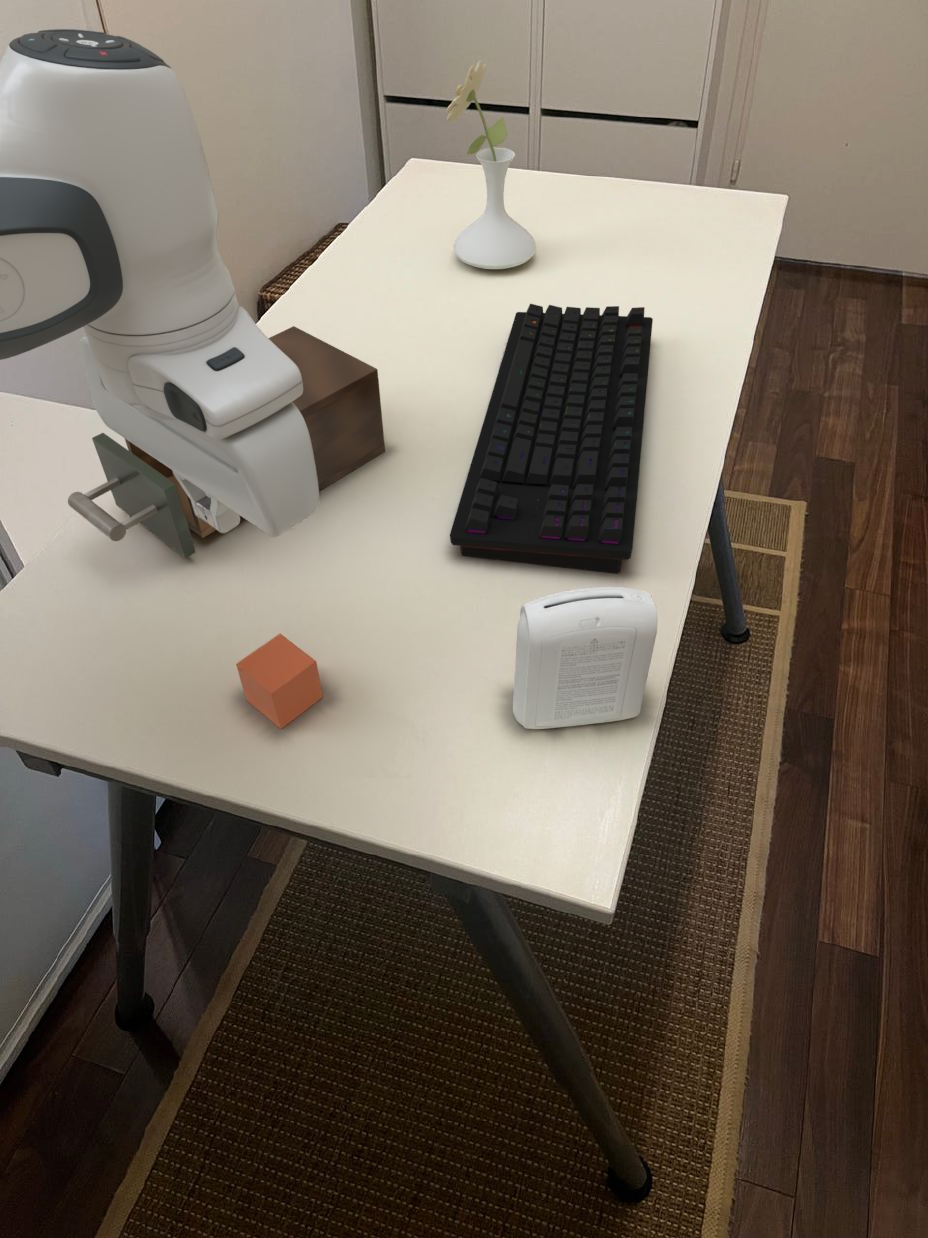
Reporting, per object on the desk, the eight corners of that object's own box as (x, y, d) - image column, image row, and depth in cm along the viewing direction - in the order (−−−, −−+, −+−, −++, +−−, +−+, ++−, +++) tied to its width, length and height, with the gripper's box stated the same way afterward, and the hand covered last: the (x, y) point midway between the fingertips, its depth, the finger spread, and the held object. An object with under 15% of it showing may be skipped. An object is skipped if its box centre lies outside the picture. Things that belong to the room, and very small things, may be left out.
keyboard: (515, 332, 114) (516, 293, 111) (649, 342, 112) (654, 303, 109) (449, 559, 86) (448, 517, 82) (627, 579, 83) (634, 537, 80)
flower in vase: (494, 233, 134) (495, 36, 116) (552, 258, 128) (563, 53, 110) (428, 263, 128) (418, 59, 110) (486, 290, 122) (486, 79, 104)
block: (280, 729, 72) (271, 693, 69) (246, 700, 74) (235, 663, 71) (323, 697, 74) (316, 661, 71) (288, 669, 76) (280, 632, 73)
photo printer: (633, 679, 75) (653, 567, 66) (647, 721, 72) (670, 609, 63) (508, 694, 74) (511, 582, 65) (517, 737, 71) (522, 626, 62)
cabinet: (275, 518, 90) (257, 434, 83) (197, 465, 96) (174, 382, 89) (385, 451, 97) (377, 368, 90) (306, 406, 104) (293, 325, 97)
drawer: (138, 586, 82) (113, 518, 77) (70, 530, 88) (41, 462, 82) (299, 490, 92) (287, 422, 86) (228, 444, 97) (212, 378, 92)
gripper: (32, 308, 59) (98, 482, 69) (232, 429, 49) (275, 611, 59) (117, 273, 62) (169, 444, 72) (321, 380, 52) (348, 561, 62)
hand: (218, 521), depth 65 cm, fingers closed
